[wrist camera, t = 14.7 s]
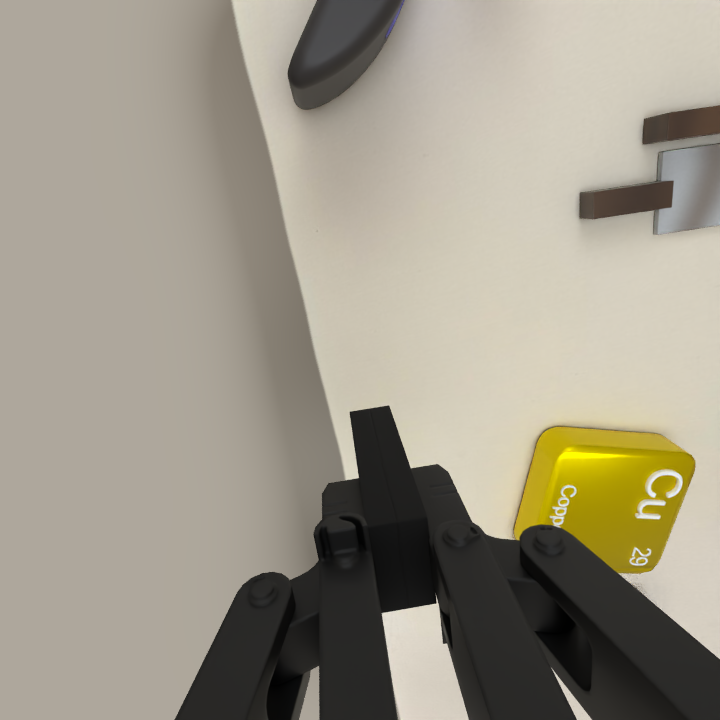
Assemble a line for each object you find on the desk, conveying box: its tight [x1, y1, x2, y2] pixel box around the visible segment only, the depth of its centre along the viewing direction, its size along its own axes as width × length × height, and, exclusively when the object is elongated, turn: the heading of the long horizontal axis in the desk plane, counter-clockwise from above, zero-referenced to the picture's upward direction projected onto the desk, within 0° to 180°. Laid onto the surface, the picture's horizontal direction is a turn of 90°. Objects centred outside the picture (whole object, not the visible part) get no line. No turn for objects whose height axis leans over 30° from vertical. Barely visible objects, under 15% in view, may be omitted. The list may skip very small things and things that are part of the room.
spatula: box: [580, 143, 720, 235], centre depth 41 cm, size 15×7×2 cm, turn 98°
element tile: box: [514, 427, 695, 574], centre depth 49 cm, size 15×15×5 cm
